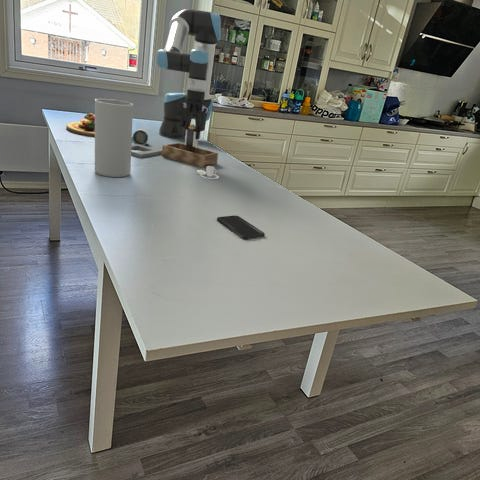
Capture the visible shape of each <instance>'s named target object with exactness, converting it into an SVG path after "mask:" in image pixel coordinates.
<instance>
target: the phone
mask: <svg viewBox="0 0 480 480" xmlns="http://www.w3.org/2000/svg"><path fill="white" fill-rule="evenodd" d="M216 222H218V223H219V224H220V225H222V226H223V227H225V229H228V230H229V231H230V232H232V233H233V234H234V235H236V236H237V237H238V238H239V239H241V240H253V239H254V240H255V239H260V238H264V237H265V235H266V233H265V232H264V231H262V230H260V229H259V228H258V227H256V226H255V225H253V224H252V223H250V222H248V221H247V220H245V219H244V218H242V217H241V216H239V215H227V216H226V215H225V216H217V217H216Z"/></svg>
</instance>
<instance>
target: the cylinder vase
mask: <svg viewBox="0 0 480 480" xmlns="http://www.w3.org/2000/svg"><path fill="white" fill-rule="evenodd" d="M133 112H134V103H132V102H129V101H126V100H121V99H120V100H118V99H112V98H111V99H110V98H109V99H108V98H95V99H94V116H95V137H94V172H95V173H96V174H98V175H100V176H103V177H107V178H108V177H109V178H123V177H127V176H129V175H130V174H131V168H132V167H131V166H132V165H131V164H132V155H131V146H132V144H133V142H132V137H133V116H134V113H133Z"/></svg>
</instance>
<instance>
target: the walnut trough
mask: <svg viewBox="0 0 480 480" xmlns="http://www.w3.org/2000/svg"><path fill="white" fill-rule="evenodd" d="M161 149H162V150H161V151H162V154H161V157H164V158H167V159H171V160H174V161H178V162H181V163H185V164H189V165H192V166H196V167H200V168H202V167H203V168H207V167H206V166H210V165H211V166H214V164H215V165H217V164H218V158H219V152H215V151H212V150H208V149H205V148H201V147H198V146H195V153H193V152H189V151H186V144H185V143H182V142H173V143H167V144H163V145H162V147H161Z"/></svg>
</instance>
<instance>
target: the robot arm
mask: <svg viewBox="0 0 480 480" xmlns="http://www.w3.org/2000/svg"><path fill="white" fill-rule="evenodd" d="M221 21H222V19H221V16H220V15H219V14H218V13H216V12H211V11H205V10H200V9H193V8H185V9H182V10H180V11H178V12H177V13H175V14H174V15H173V16H172V17H171V19H170V21H169V25H168V30H169V32H168V36H167V38H166V43H165V46H164V49H158V50H157V52H156V66H157V67H158V68H160V69H163V70H167V71H168V70H170V71H175V72H176V71H177V72H182V73H188V78H187V88H188V89H187V90H186V92H168V93H166V94H165V95H164V101H163V116H162V117H163V120H162V122H161V125H160V128H159V132H158V134H159V135H160V136H163V137H167V138H173V139H174V138H175V139H184V144H187V133H188V126H189V125H191V124H192V120H194V122H195V123H194V125H195V126H196V130H195V131H194V137H193V147H198V146H199V145H198V143H199V139H200V138H201V132H204V131H205V129H206V123H207V121H209V120H210V118H211V114H212V110H213V107H214V99H212V96H211V94H210V88H211V87H210V86H211V77H212V69H213V68H212V67H213V59H214V47H215V46H218V41H221V37H222V36H221V34H222V33H221V29H222V28H221ZM187 36H191V37H194V42H195V43H196V49H194V48H193V49H191V50H190V53H184V52H183V48H184V44H185V39H186V37H187Z"/></svg>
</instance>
